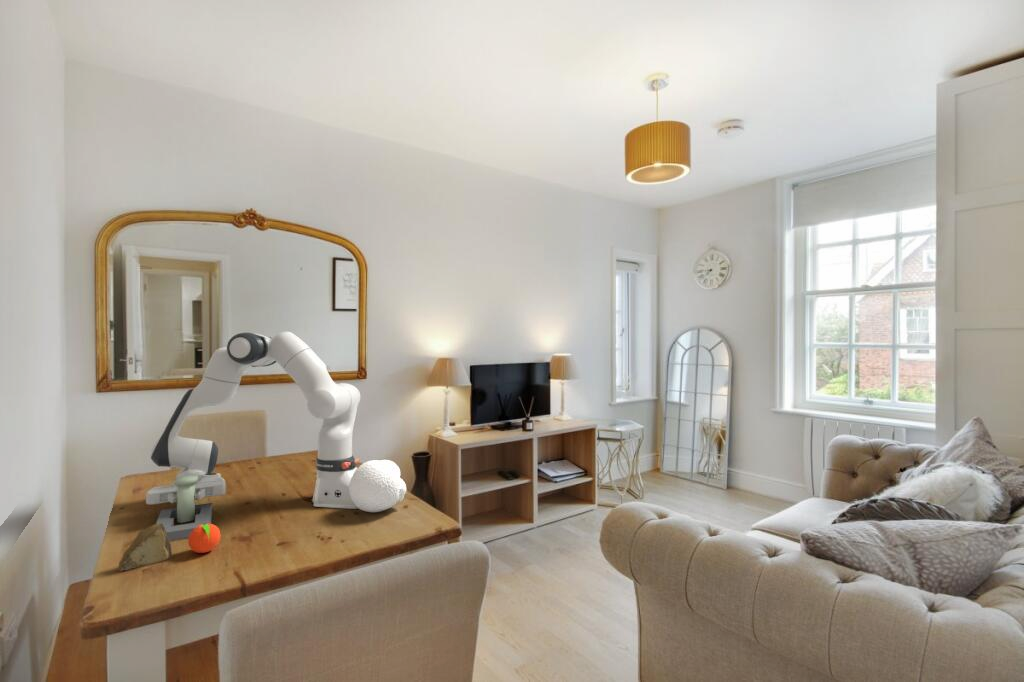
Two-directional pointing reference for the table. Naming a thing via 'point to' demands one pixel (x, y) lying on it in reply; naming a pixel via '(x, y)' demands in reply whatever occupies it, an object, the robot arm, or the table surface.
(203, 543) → the clementine
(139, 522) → the table surface
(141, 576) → the table surface
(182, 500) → the sage post
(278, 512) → the table surface
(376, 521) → the table surface
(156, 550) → the rock
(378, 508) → the white lumpy blob
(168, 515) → the keyhole board
